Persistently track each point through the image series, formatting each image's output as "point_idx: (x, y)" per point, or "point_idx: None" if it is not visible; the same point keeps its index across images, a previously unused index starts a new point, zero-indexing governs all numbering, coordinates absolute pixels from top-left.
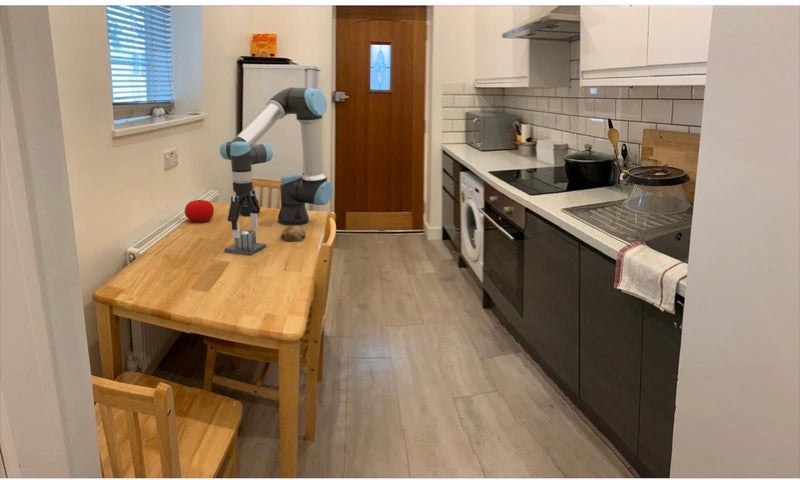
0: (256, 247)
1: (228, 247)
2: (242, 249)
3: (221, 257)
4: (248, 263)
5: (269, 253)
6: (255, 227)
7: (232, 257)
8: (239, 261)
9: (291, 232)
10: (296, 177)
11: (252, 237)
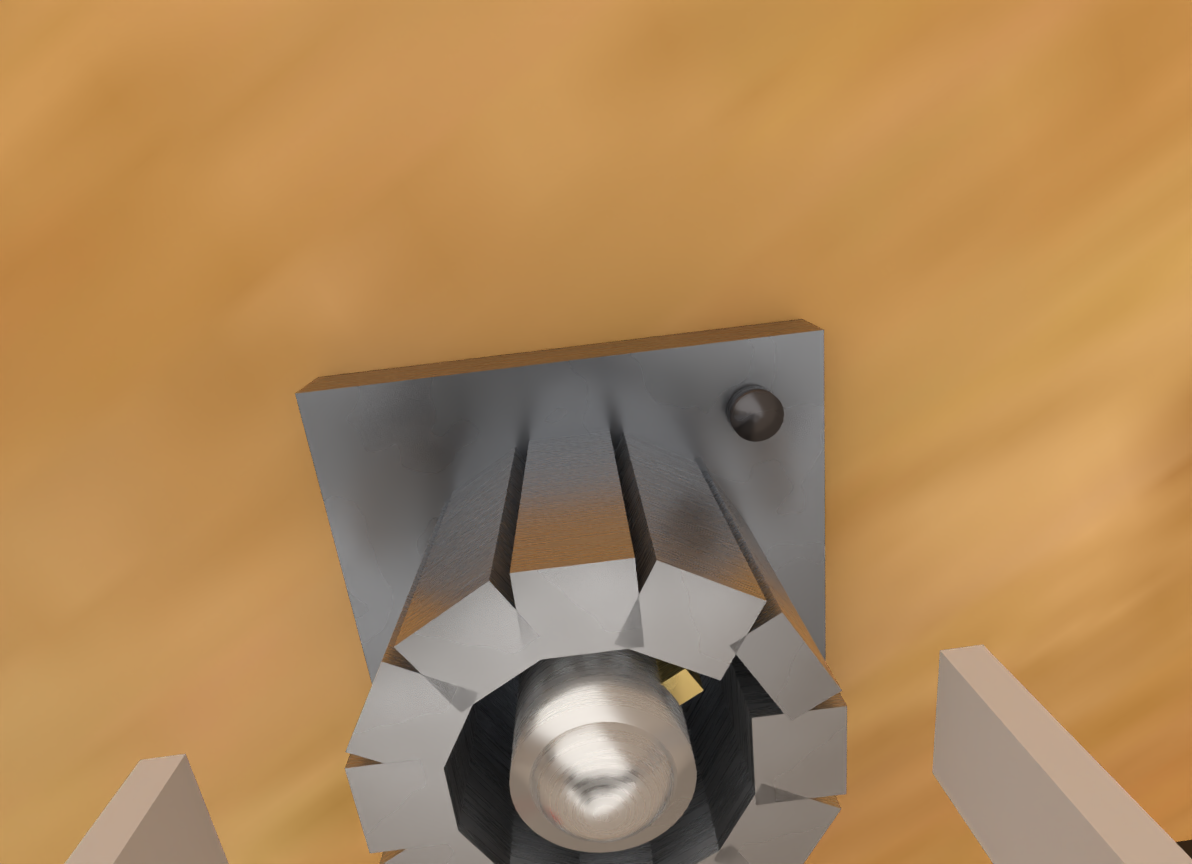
0: (560, 406)
1: None
2: (760, 524)
3: (1020, 605)
4: (1183, 82)
5: (563, 108)
6: (176, 816)
7: (976, 490)
8: (1121, 282)
9: None
10: None
11: (626, 525)
